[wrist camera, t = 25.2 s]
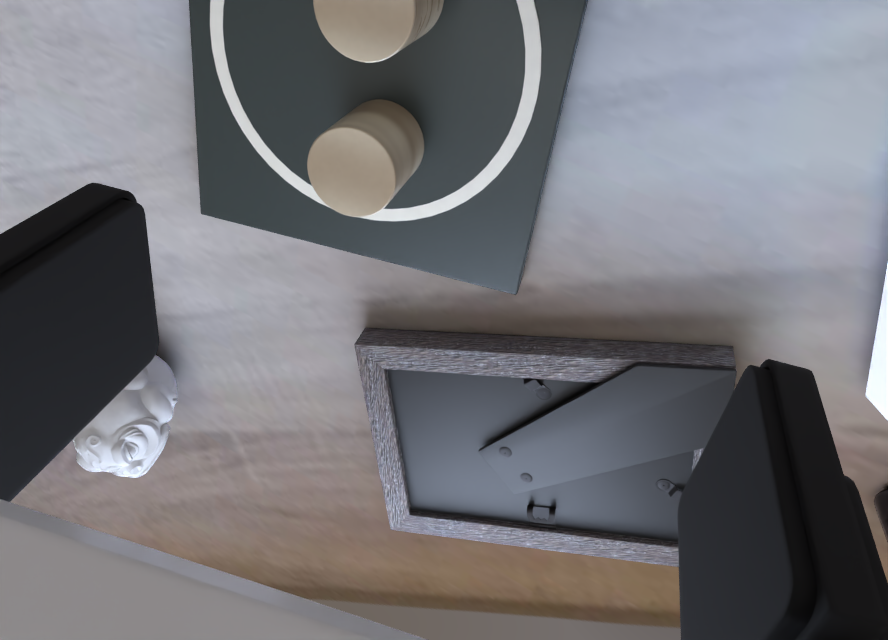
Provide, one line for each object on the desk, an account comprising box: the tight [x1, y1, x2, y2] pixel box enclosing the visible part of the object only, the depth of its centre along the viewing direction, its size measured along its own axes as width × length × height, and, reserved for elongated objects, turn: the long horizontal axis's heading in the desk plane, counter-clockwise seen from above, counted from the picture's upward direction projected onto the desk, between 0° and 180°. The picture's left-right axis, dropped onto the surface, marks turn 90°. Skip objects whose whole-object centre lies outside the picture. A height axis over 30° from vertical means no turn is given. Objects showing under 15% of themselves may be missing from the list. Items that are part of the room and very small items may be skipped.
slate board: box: [189, 0, 588, 295], centre depth 29 cm, size 18×16×1 cm
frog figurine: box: [73, 355, 178, 478], centre depth 40 cm, size 6×7×7 cm
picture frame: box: [354, 328, 737, 567], centre depth 37 cm, size 13×2×18 cm
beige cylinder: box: [307, 99, 424, 217], centre depth 28 cm, size 4×4×4 cm
